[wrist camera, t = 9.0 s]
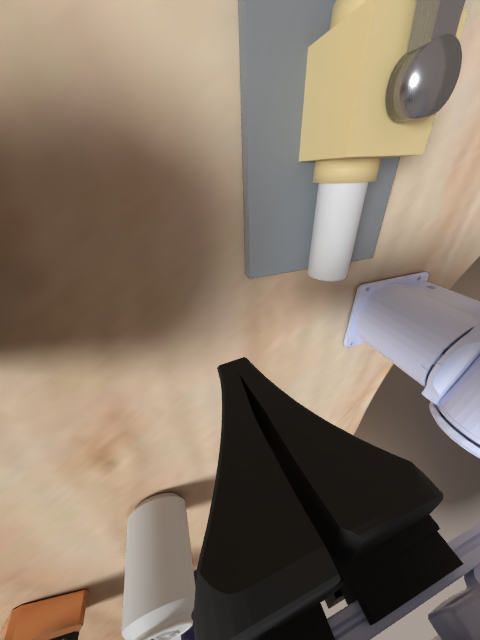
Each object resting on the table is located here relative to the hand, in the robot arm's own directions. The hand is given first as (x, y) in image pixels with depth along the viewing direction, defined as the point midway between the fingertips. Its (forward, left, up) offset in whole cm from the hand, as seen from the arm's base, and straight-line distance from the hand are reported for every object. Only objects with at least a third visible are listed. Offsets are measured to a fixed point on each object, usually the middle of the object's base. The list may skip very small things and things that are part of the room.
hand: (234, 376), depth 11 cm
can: (+10, +31, -10) cm, 34 cm away
